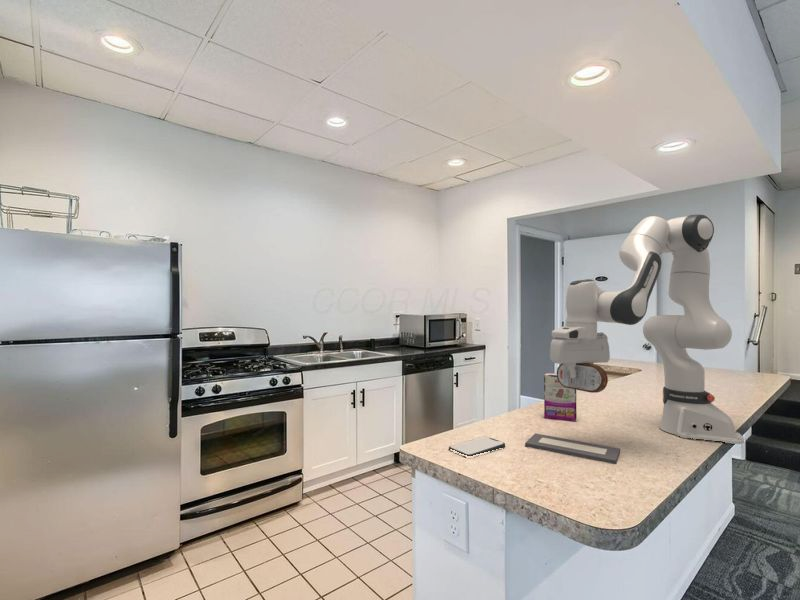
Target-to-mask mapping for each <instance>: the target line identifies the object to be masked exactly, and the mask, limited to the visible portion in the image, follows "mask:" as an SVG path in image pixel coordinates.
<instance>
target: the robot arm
mask: <svg viewBox="0 0 800 600" xmlns="http://www.w3.org/2000/svg"><path fill="white" fill-rule="evenodd" d="M714 233H715V227H714V224H713V221H712V220H711V219H710V218H709V217H708V216H707V215H705V214H690V215H688V216H687V215H686V216H680V217H675V218H671V219H667V220H666V219H664V218H662V217H661V216H656V215H652V216H651V215H650V216H647V217H645V218H643V219H642V220H641V221H639V222H638V224H636V225H635V226H634V227H633V228H632V230H631V231H630V232H629V234H628V235H627V237H626V238H625V240H624V241H623V242H622V244H621V246H620V249H619V252H618V255H619V259H620V261H621V262H622V264H623V265H624V266H626V268H628V269H629V270H631V271H633V272H635V274H634V277H633V279H632V281H631V284H630V285H629V287H627V288H624V289H621V290H605V289H603V288H602V287H600V286H599V285H598V284H597V282H596V280H595V279H593V278H592V279H591V278H590V279H589V278H588V279H578V280H574V281H571V282H570V283H569V284H568V286H567V290H566V296H565V297H566V298H565V310H566V319H565V325H563V326H561V327H558V328H556V329H553V330H552V331H551V337H552V340H551V342H550V347H549V349H550V350H549V359H550V361H551V362H552V363H554V364H559V365H560V364H567V367H568V369H569V371H570V377H571V378H578V372H576V370H575V368H574V367H576V363H588V364H599V363H600V364H601V363H608V362H609V360H611V359H610V358H611V357H610V356H611V355H610V353H611V352H610V345H609V342H608V339H609V338H608V336H607V334H605V332H598V322H600V323H611V324H612V323H615V324H621V325H622V324H623V325H627V326H629V325H630V326H634V325H637V324H638V323H639V322H641V321H642V320H643V319H644V317H645V315H646V314H647V309H648V307H649V306H648V305H649V300H650V297H651V294H652V292H653V290H654V288H655V285H656V282H657V280H658V277H659V275H660V272H661V269H662V258H661V257H660V255H661V254H666V253H667V254H668V253H671V254H672V257H673V259H672V261H671V262H672V263H671V268H670V275H669V276H670V277H669V284H668V292H667V293H668V297H669V298H670V299H671V300H672V301H673V302H674V303H676V304H677V305H680V306H681V307H682V308H683V311H684V312H683V313H684V314H683V315H682V314H661V315H660V314H659V315H654V316H649V317H648V318H647V319H646V320H645V321H644V323H643V326H642V334H643V337H644V338H645V340H646V341H647V342H648V343H649V344H651V345H652V346H653V347H654V348H655V349H656V351H657V352H658V354H659V356H660V359H661V360H662V364H663V372H664V374H663V375H664V386H663V389H662V403H663V409H662V413H661V414H662V415H661V420H660V422H659V425H658V428H659V429H660V430H662V431H664V432H666V433H669V434H672V435H675V436H677V437H679V436H680V438H682V439H687V438H691V439H690V440H696V439H704V440H703V441H705V440H715V441H723V442H725V444H733V445H741V444H742V445H743V444H744V442H745V439H744V436H743V435H742V434H741V433H740V432H738V431H736V428H735V424H734V421H733V419H732V418H731V417H730V416H729V415H728V414H727V413H726V412H724V411H723V410H721V408H719V407H718V406H716V405H714V404H713V402H714V401H716V397H715V396H714V395H713V394H711V393H710V392H709V391H707V390H705V374H706V373H705V368H704V367H703V365H702V364H701V363H700V362H699V361H697V360H695V359H693V358H692V357H691V356H690V355H689V353H688V351H687V349H695V350H704V351H706V350H707V351H709V350H718V349H724V348H725V347H727V346H728V344H730V342H731V339H732V337H733V330H732V328H731V325H730V323H729V322H727V321H726V320H725V319H724V318H722V317H721V316H720V315H719V314H718V313H717V312H716V311H715V310H714V308H713V306H712V304H711V301H710V278H711V277H710V276H711V261H710V254H709V250H708V247H709V245H710V243H711V242H712V239H713V237H714ZM692 438H693V439H692Z"/></svg>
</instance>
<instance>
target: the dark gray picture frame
mask: <svg viewBox="0 0 800 600" xmlns="http://www.w3.org/2000/svg"><path fill="white" fill-rule="evenodd" d="M524 447H527V448H530V449H531V448H532V449H537V450H542V451H546V452H550V453H551V452H552V453H556V454H557V453H558V454H562V455H567V456H570V457H571V456H572V457H577V458H583V459H587V460H591V461H592V460H593V461H597V462H603V463H608V464H613V465H617V462H618V459H619V456H620V453H621V448H620V447H613V446H608V445H602V444H597V443H592V442H591V443H590V442H587V441H586V442H585V441H582V440H581V441H580V440H574V439H568V438H564V437H557V436H554V435H553V436H552V435H548V434H541V433H536V432H535V433H534V434H533V435H532V436H531V437H529V439H527V440H526V441H525V443H524Z"/></svg>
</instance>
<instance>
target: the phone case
mask: <svg viewBox="0 0 800 600" xmlns="http://www.w3.org/2000/svg"><path fill="white" fill-rule="evenodd" d="M503 447H505V448H506V443H505V442H504V441H501V440H497V439H495V438H491V437H489V436H480V437H476V438H474V439H473V438H472V439H470V440H467V441H463V442H459V443H457V444H453V445H450V446H449V447H448V450H449V449H452V450H455V451H457V452H459V453H461V454H464V455H467V456H473V455H476V454H480V453H484V452H488V451H492V450H496V449H499V448H503ZM503 449H504V448H503Z"/></svg>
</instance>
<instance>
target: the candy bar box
mask: <svg viewBox="0 0 800 600" xmlns="http://www.w3.org/2000/svg"><path fill="white" fill-rule="evenodd" d="M543 382H544V383H543V389H544V391H543V392H544V393H543V395H544V397H543V400H544V402H543V404H544V406H543V407H544V411H543V413H544V414H543V415H544V419H548V420H559V421H569V422H577V414H578V413H577V412H578V411H577V390H575V389H570V388H566V387H564V386H562V385H561V384H560V383H559V381H558V379H557V373H551V372H545V373H544V374H543Z"/></svg>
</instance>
